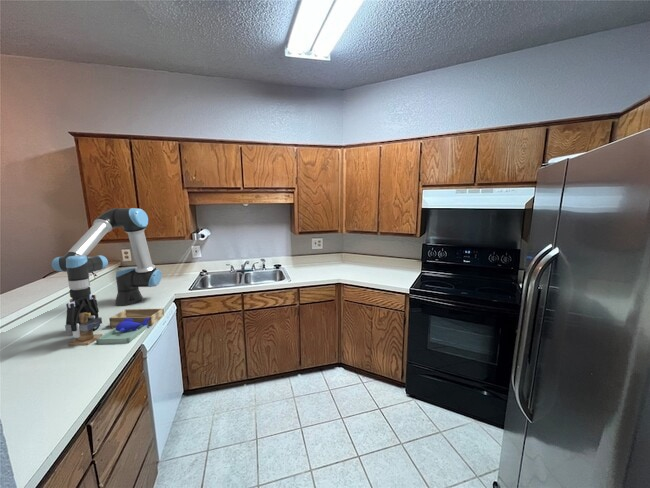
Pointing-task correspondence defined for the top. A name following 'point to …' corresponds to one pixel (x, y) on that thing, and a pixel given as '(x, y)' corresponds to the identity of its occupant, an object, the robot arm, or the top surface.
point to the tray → (120, 336)
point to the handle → (85, 332)
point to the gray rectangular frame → (87, 324)
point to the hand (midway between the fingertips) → (85, 332)
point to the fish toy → (130, 325)
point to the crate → (137, 316)
